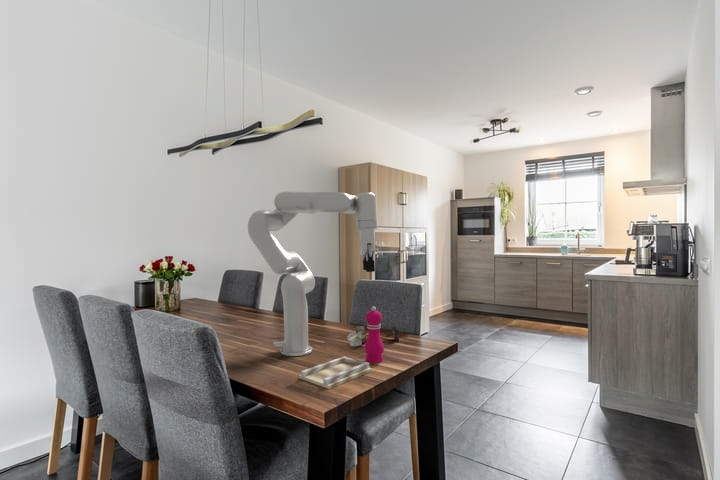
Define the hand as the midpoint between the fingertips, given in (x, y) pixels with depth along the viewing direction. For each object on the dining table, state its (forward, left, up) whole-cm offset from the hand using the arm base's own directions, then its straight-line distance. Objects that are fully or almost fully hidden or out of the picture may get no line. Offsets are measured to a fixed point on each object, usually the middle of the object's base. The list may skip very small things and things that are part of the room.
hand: (368, 270), depth 145 cm
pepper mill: (+1, -4, -33) cm, 33 cm away
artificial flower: (+3, +20, -33) cm, 39 cm away
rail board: (-13, -17, -33) cm, 39 cm away
